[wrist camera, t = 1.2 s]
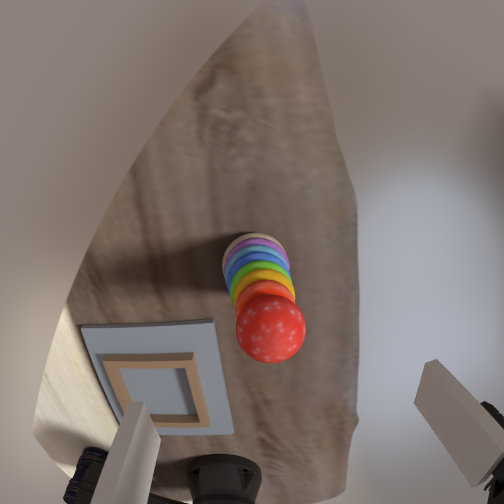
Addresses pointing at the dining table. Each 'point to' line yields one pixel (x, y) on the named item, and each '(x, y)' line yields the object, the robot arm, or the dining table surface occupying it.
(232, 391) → the dining table surface
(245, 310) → the stacking toy
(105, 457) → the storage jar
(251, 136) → the dining table surface
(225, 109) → the dining table surface
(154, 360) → the baseplate
